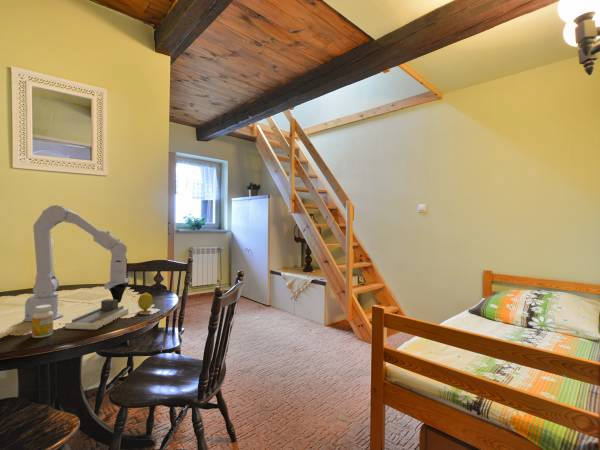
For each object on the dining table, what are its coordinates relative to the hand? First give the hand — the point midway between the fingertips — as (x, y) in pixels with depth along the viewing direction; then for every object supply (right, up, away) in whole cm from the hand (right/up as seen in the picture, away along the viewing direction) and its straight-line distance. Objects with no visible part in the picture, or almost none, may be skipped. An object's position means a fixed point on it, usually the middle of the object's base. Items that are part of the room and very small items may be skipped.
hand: (117, 302), depth 130 cm
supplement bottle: (-8, -4, -28) cm, 29 cm away
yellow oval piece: (+10, -5, +3) cm, 12 cm away
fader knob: (0, -2, -5) cm, 5 cm away
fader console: (0, -4, -11) cm, 12 cm away
